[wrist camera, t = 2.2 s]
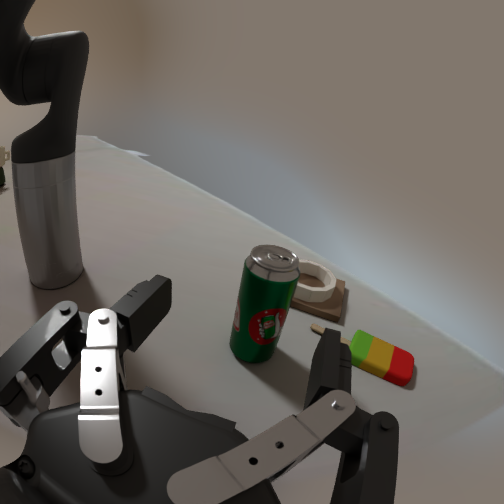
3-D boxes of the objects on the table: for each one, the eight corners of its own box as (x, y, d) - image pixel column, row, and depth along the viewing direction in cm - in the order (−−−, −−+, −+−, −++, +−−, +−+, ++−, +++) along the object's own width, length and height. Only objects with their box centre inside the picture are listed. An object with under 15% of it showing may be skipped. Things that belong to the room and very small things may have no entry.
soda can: (239, 327, 33) (257, 237, 27) (278, 342, 31) (308, 253, 26) (221, 354, 28) (237, 259, 23) (265, 372, 27) (297, 279, 21)
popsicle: (404, 391, 27) (412, 382, 26) (300, 342, 33) (305, 331, 32) (409, 363, 31) (416, 354, 30) (316, 319, 37) (320, 309, 36)
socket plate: (256, 294, 39) (261, 276, 38) (276, 263, 48) (280, 248, 46) (337, 322, 36) (345, 305, 35) (343, 286, 45) (349, 271, 43)
